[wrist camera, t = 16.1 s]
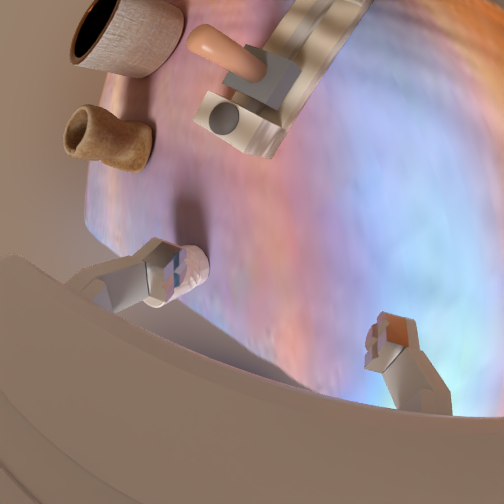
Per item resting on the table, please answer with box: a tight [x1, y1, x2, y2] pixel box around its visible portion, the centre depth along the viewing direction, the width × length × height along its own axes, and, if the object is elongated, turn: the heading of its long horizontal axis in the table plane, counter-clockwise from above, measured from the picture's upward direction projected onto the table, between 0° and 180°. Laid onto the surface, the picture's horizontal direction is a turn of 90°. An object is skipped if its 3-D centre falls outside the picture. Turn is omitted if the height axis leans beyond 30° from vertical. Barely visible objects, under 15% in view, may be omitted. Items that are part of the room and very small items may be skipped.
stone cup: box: [63, 105, 152, 173], centre depth 41 cm, size 15×12×15 cm
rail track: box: [192, 0, 374, 159], centre depth 26 cm, size 30×9×7 cm, turn 147°
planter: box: [70, 0, 184, 78], centre depth 34 cm, size 18×18×16 cm
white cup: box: [143, 245, 210, 307], centre depth 41 cm, size 8×8×10 cm
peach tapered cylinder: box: [186, 24, 302, 110], centre depth 24 cm, size 6×7×14 cm
